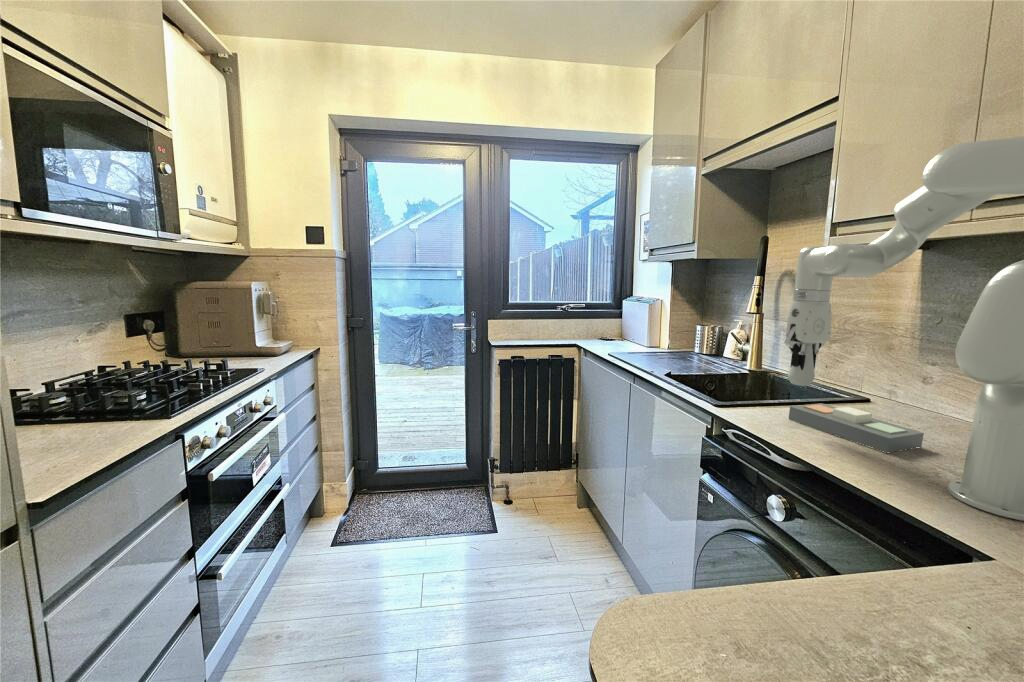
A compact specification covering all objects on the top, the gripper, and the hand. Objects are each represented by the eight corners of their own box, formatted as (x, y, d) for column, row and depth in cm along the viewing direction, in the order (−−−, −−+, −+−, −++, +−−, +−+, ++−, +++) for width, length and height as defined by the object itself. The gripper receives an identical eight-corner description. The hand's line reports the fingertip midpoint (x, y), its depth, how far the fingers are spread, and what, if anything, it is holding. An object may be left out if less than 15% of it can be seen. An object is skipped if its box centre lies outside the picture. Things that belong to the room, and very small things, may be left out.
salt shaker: (812, 388, 106) (819, 336, 104) (785, 384, 110) (791, 334, 108) (814, 383, 111) (820, 334, 109) (788, 380, 114) (793, 332, 112)
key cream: (869, 427, 107) (871, 413, 106) (854, 429, 105) (856, 415, 105) (846, 420, 112) (848, 406, 112) (831, 422, 111) (833, 408, 110)
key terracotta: (838, 423, 114) (840, 410, 114) (823, 425, 113) (824, 412, 112) (817, 417, 120) (819, 404, 119) (802, 418, 118) (804, 406, 117)
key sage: (903, 444, 100) (906, 430, 100) (887, 447, 99) (890, 432, 98) (877, 436, 106) (879, 422, 105) (861, 438, 104) (863, 424, 103)
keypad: (921, 447, 100) (923, 433, 99) (886, 453, 96) (889, 438, 95) (819, 415, 122) (821, 403, 122) (788, 418, 118) (790, 406, 118)
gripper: (801, 298, 101) (792, 374, 103) (850, 298, 106) (840, 370, 109) (773, 296, 108) (765, 367, 110) (820, 296, 113) (811, 364, 116)
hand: (802, 368), depth 109 cm, fingers closed on salt shaker, 3 cm apart
